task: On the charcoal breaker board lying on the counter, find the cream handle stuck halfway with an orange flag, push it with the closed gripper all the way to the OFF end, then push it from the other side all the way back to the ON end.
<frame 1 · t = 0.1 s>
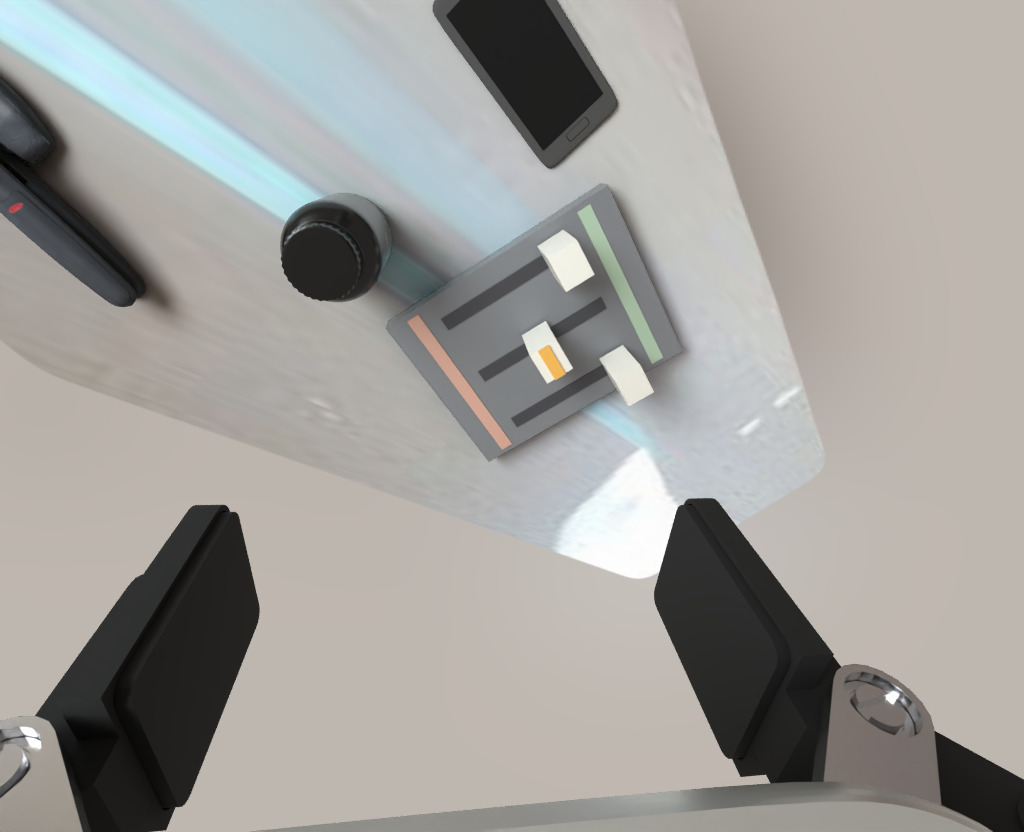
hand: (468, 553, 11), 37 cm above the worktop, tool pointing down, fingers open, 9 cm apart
breaker handle 3: (625, 374, 46), point 5 cm above the worktop, slide at 10.0 cm
tripped handle: (546, 351, 44), point 5 cm above the worktop, slide at 5.0 cm
breaker board: (537, 333, 48), on the worktop
cell phone: (528, 60, 38), on the worktop
breaker handle 1: (564, 259, 40), point 5 cm above the worktop, slide at 10.0 cm
can opener: (58, 195, 39), on the worktop
supplement bottle: (352, 235, 42), on the worktop
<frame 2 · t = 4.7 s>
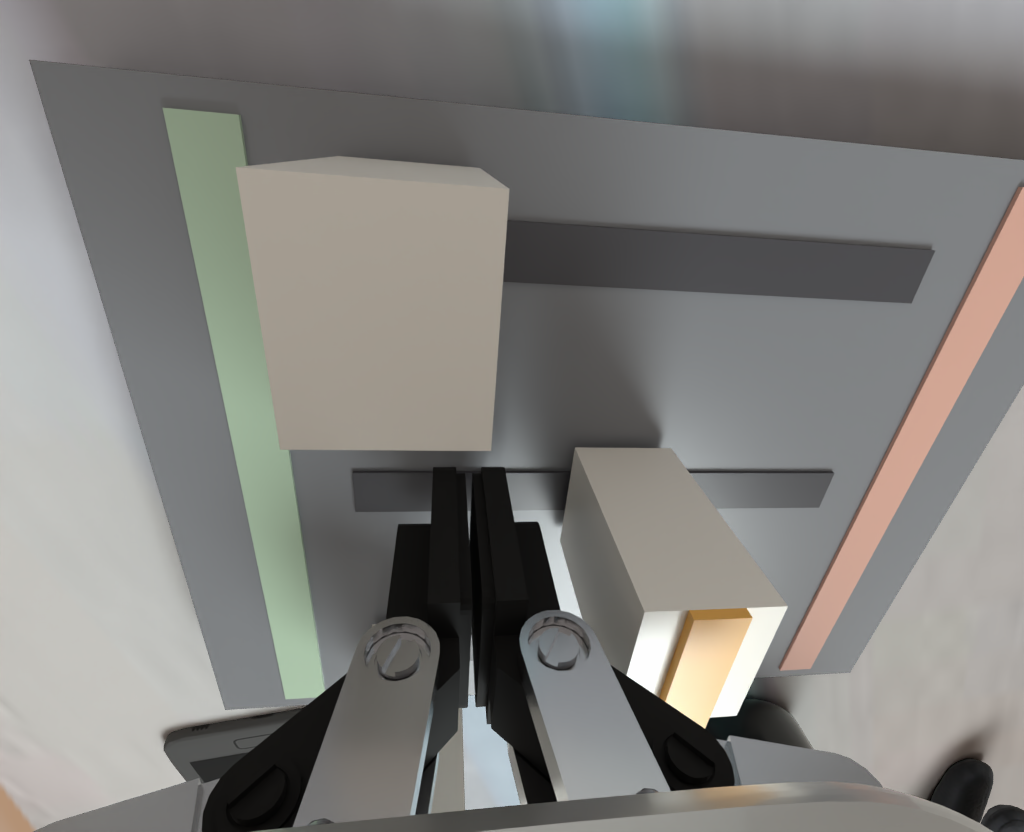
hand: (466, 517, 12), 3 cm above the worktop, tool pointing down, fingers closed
breaker handle 3: (401, 278, 8), point 5 cm above the worktop, slide at 10.0 cm
tripped handle: (647, 568, 11), point 5 cm above the worktop, slide at 4.8 cm, touching gripper
breaker board: (586, 450, 15), on the worktop
cell phone: (312, 792, 23), on the worktop
breaker handle 1: (411, 741, 13), point 5 cm above the worktop, slide at 10.0 cm
can opener: (907, 823, 32), on the worktop
supplement bottle: (718, 733, 24), on the worktop
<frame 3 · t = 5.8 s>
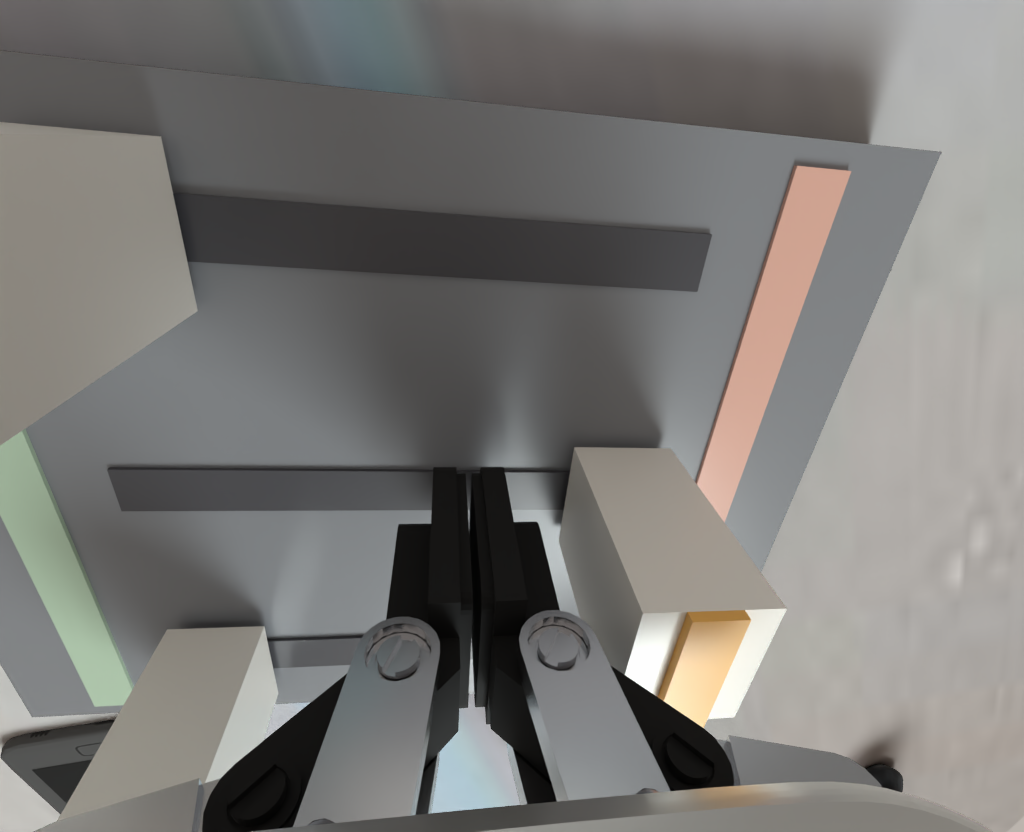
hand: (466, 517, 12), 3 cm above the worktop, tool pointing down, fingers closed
tripped handle: (646, 569, 11), point 5 cm above the worktop, slide at -0.5 cm, touching gripper
breaker board: (405, 447, 15), on the worktop
cell phone: (183, 798, 23), on the worktop
breaker handle 1: (187, 754, 12), point 5 cm above the worktop, slide at 10.0 cm
can opener: (828, 829, 32), on the worktop
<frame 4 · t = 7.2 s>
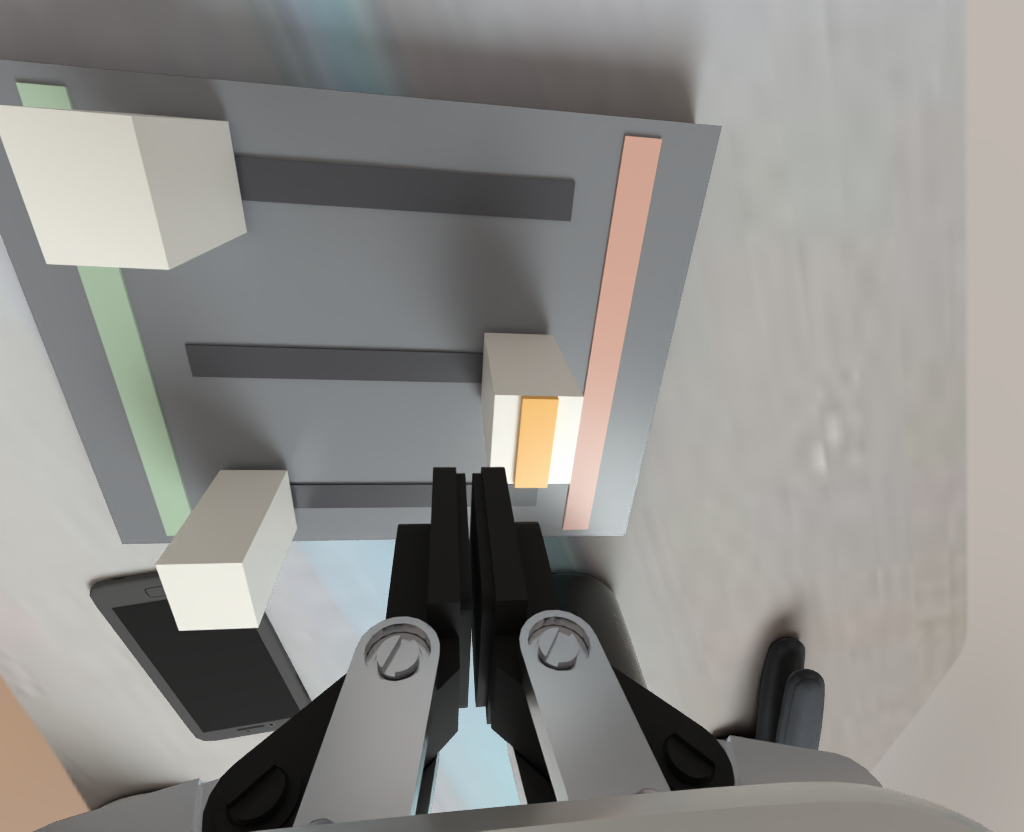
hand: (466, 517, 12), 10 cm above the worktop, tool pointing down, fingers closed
breaker handle 3: (148, 183, 13), point 5 cm above the worktop, slide at 10.0 cm
tripped handle: (524, 403, 17), point 5 cm above the worktop, slide at -0.1 cm
breaker board: (385, 345, 20), on the worktop
cell phone: (222, 650, 29), on the worktop
breaker handle 1: (237, 543, 18), point 5 cm above the worktop, slide at 10.0 cm
can opener: (755, 706, 37), on the worktop
supplement bottle: (556, 607, 29), on the worktop
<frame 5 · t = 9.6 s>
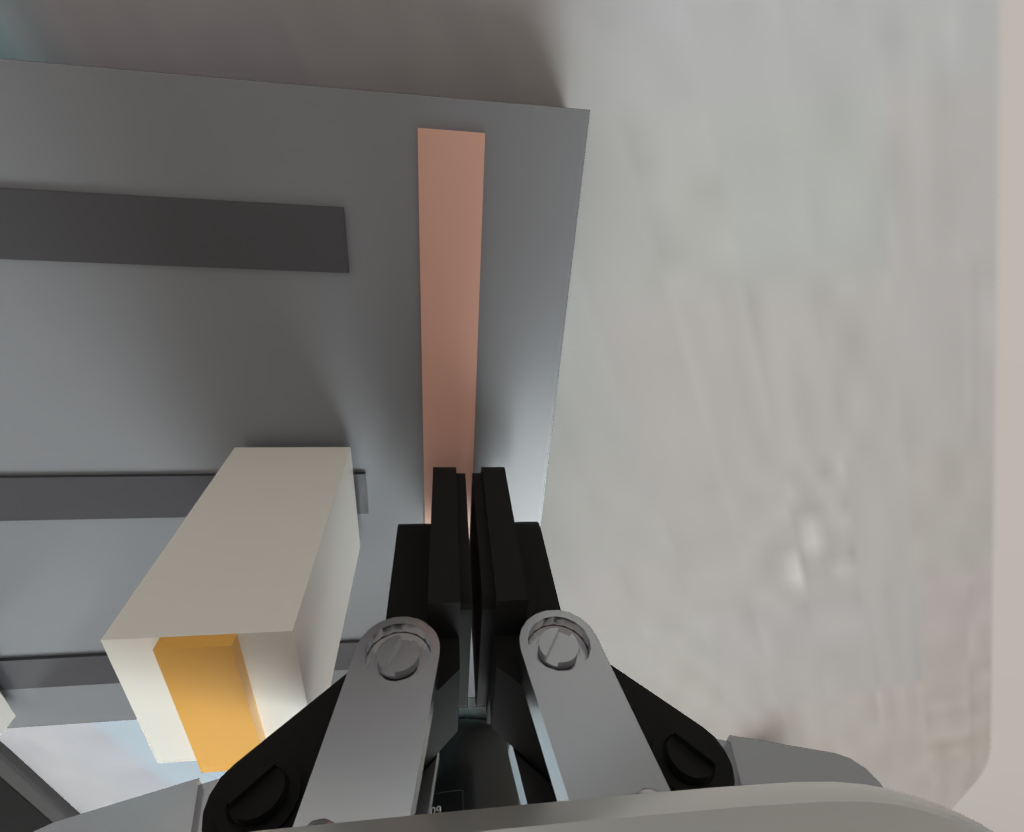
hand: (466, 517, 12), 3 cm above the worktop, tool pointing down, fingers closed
tripped handle: (268, 582, 10), point 5 cm above the worktop, slide at 0.0 cm, touching gripper
breaker board: (127, 450, 13), on the worktop
cell phone: (8, 821, 22), on the worktop
supplement bottle: (456, 754, 22), on the worktop
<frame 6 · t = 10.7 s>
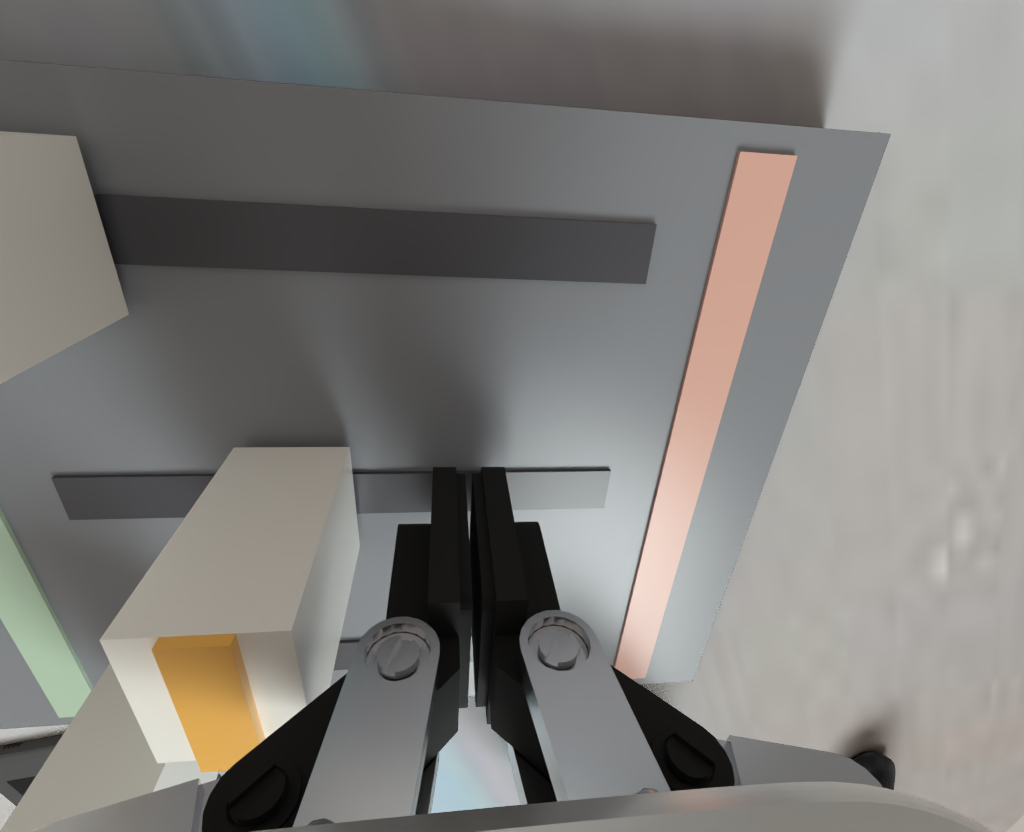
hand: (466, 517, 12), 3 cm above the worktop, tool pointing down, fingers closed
tripped handle: (268, 582, 10), point 5 cm above the worktop, slide at 6.2 cm, touching gripper
breaker board: (364, 449, 14), on the worktop
cell phone: (165, 808, 22), on the worktop
breaker handle 1: (142, 766, 12), point 5 cm above the worktop, slide at 10.0 cm
can opener: (826, 820, 30), on the worktop
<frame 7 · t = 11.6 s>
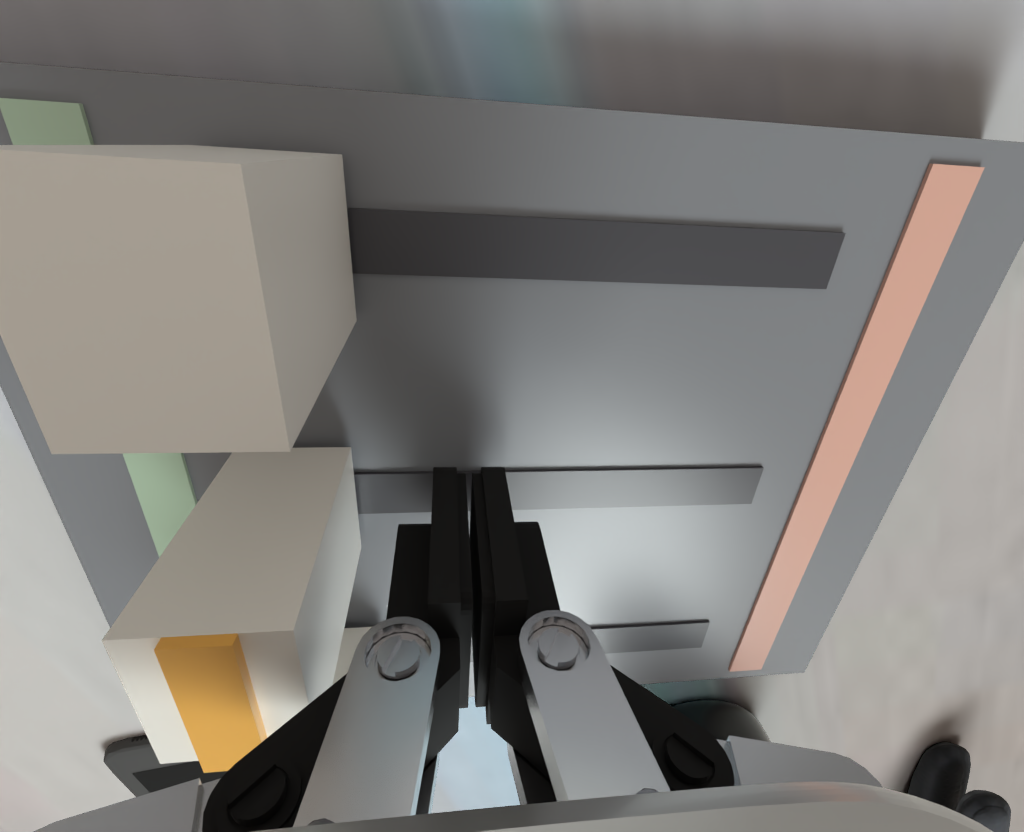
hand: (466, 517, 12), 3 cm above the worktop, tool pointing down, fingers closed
breaker handle 3: (230, 270, 7), point 5 cm above the worktop, slide at 10.0 cm
tripped handle: (269, 583, 10), point 5 cm above the worktop, slide at 10.4 cm, touching gripper
breaker board: (513, 448, 15), on the worktop
cell phone: (268, 800, 23), on the worktop
breaker handle 1: (325, 752, 13), point 5 cm above the worktop, slide at 10.0 cm
can opener: (892, 811, 31), on the worktop
supplement bottle: (682, 735, 24), on the worktop
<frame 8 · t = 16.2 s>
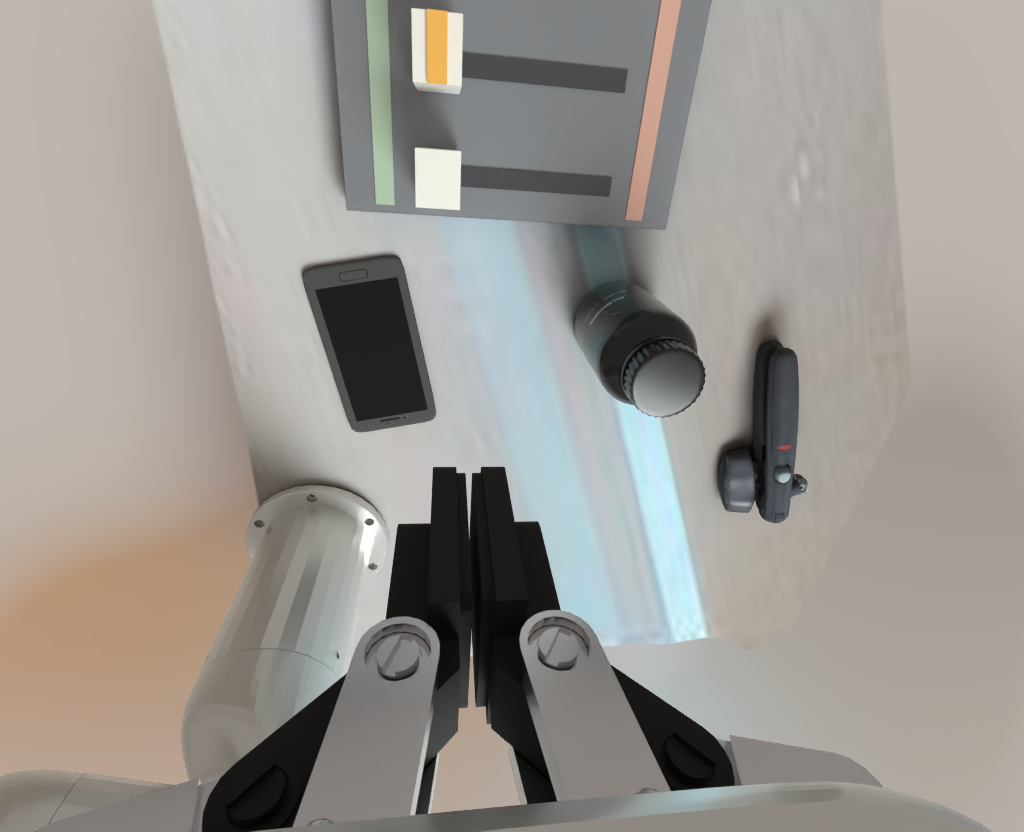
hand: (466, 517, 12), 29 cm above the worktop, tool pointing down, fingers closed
tripped handle: (438, 55, 27), point 5 cm above the worktop, slide at 10.1 cm
breaker board: (518, 75, 32), on the worktop
cell phone: (375, 347, 40), on the worktop
breaker handle 1: (438, 177, 30), point 5 cm above the worktop, slide at 10.0 cm
can opener: (753, 422, 48), on the worktop
supplement bottle: (612, 321, 41), on the worktop
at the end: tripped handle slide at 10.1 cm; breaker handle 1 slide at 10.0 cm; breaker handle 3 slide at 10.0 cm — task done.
